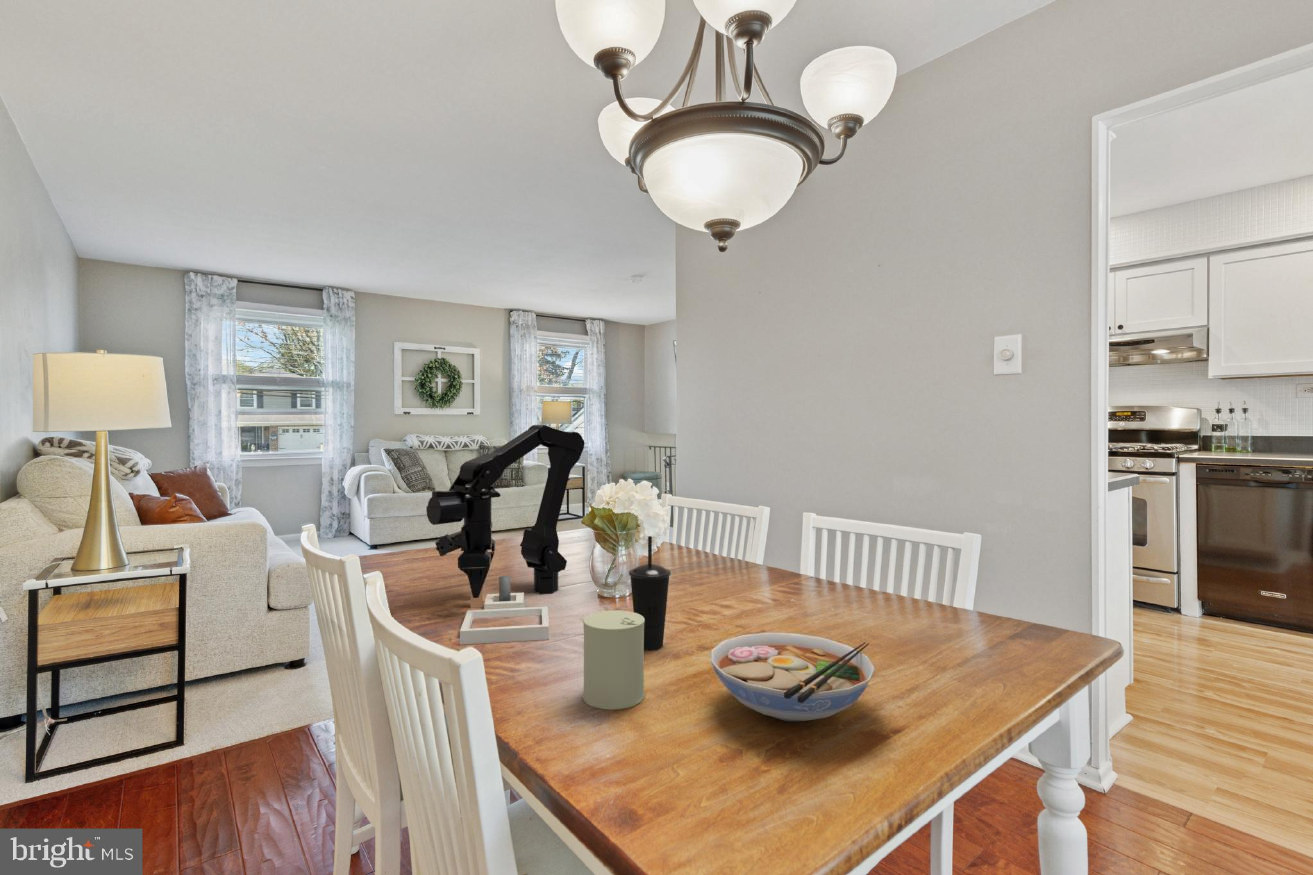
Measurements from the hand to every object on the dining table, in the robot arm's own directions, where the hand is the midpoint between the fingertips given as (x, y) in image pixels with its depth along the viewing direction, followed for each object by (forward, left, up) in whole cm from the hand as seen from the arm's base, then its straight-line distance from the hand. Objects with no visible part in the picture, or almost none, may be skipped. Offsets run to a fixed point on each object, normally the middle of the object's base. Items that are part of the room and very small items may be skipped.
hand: (477, 591), depth 135 cm
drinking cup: (+27, +33, -4) cm, 43 cm away
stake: (0, +6, -4) cm, 7 cm away
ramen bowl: (+56, +48, -4) cm, 74 cm away
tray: (+14, +7, -4) cm, 16 cm away
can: (+47, +24, -4) cm, 53 cm away
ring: (0, +4, -3) cm, 5 cm away
